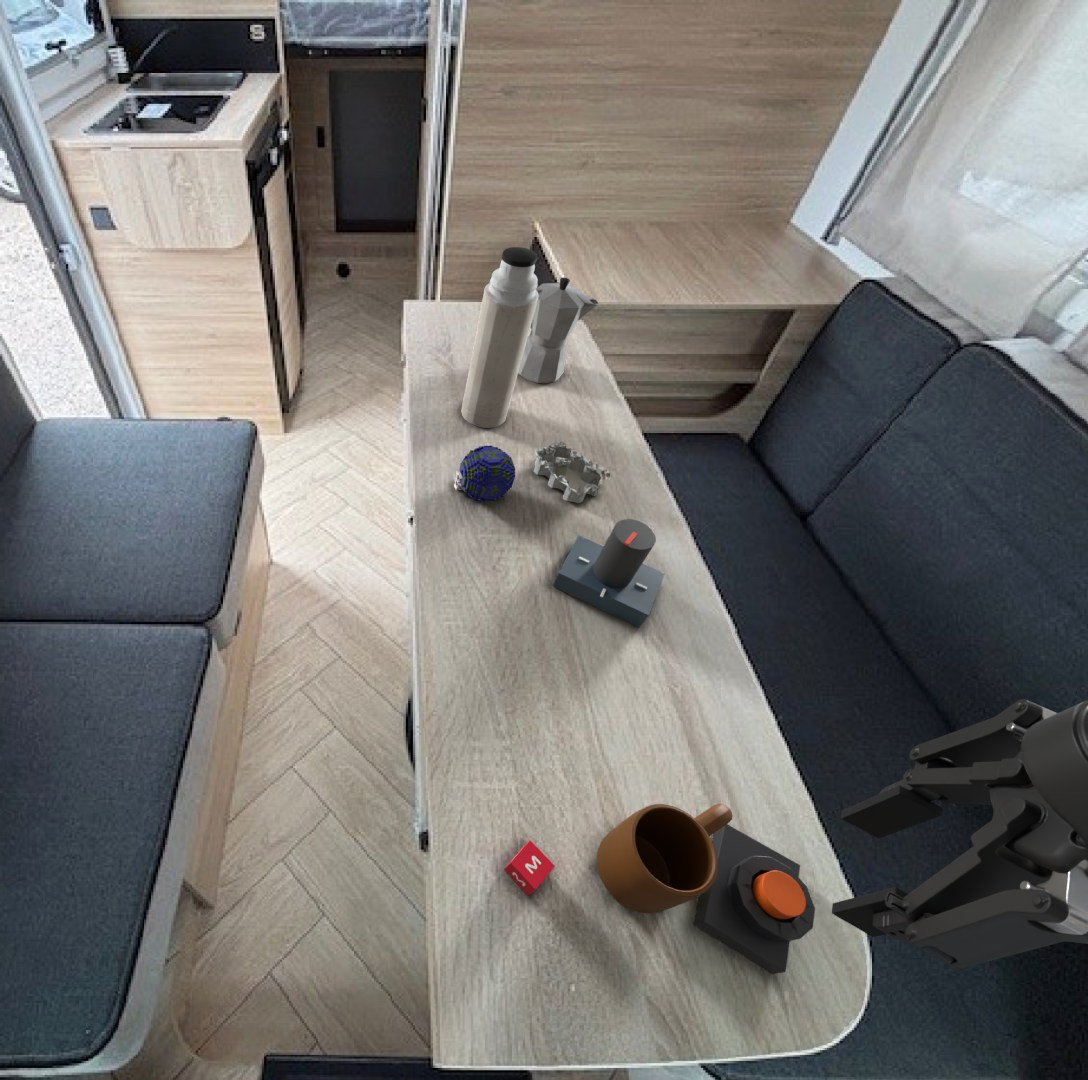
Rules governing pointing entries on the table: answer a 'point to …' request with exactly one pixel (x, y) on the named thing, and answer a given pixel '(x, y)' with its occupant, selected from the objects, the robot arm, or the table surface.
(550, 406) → the table surface
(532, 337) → the coffeepot
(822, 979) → the table surface
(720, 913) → the push button switch
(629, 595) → the dial panel
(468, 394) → the thermos bottle
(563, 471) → the grey jagged hollow block
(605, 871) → the mug
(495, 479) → the ball
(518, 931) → the table surface
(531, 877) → the dice
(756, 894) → the round orange button
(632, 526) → the temp dial
